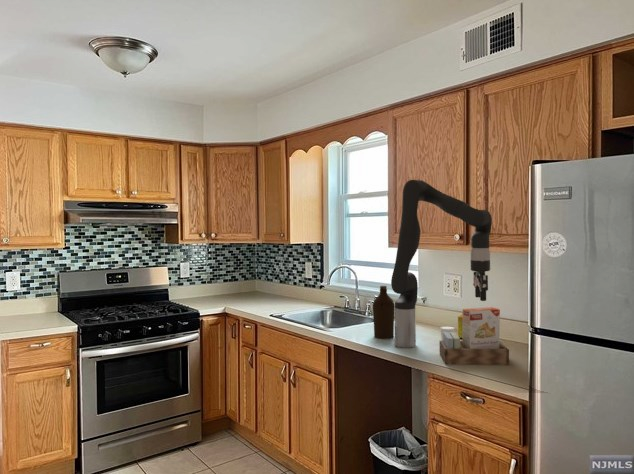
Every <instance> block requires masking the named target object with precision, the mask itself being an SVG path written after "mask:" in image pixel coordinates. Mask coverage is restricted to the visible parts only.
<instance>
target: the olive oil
mask: <svg viewBox="0 0 634 474" xmlns="http://www.w3.org/2000/svg"><path fill="white" fill-rule="evenodd" d="M372 317H373V335H374V337H375V338H376V339H383V340H385V339H386V340H387V339H392V338H394V337H395V302H394V300H393V299H392V297H390V295H388V289H387V285H380V286H379V294H378V296H376V297H375V299H374V300H373V303H372Z"/></svg>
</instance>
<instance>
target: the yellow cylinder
mask: <svg viewBox="0 0 634 474" xmlns="http://www.w3.org/2000/svg"><path fill="white" fill-rule="evenodd" d="M462 327H463V314H461V315H458V316H457V331H458V332H457V335H458V337H459V338H460V340H462Z"/></svg>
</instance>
